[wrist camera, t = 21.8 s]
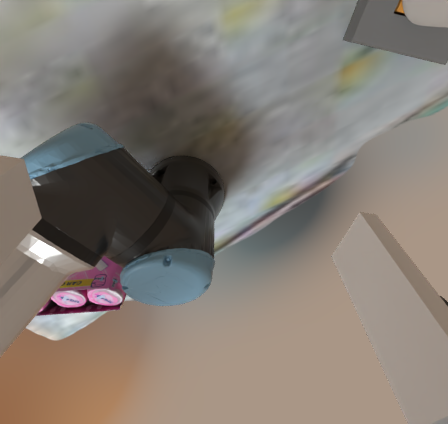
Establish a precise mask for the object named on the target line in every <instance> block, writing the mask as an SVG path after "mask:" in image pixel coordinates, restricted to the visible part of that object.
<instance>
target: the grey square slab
mask: <svg viewBox="0 0 448 424" xmlns="http://www.w3.org/2000/svg"><path fill="white" fill-rule="evenodd" d="M398 3H399V0H358V3H357V5H356V8H355V10H354V13H353V15H352V18H351V20H350V23H349V26H348V28H347V31H346V33H345V36H344V38H343V40H345V41H349V42H353V43H357V44H361V45H366V46H370V47H374V48H378V49H382V50H386V51H390V52H394V53H398V54H402V55H407V56H411V57H415V58H419V59H423V60H427V61H431V62H436V63H440V64H444V65H445V64H446V63H447V61H448V28H447V27H431V26H420V25H416V24H414V23H412V22H411V21H409V20H408V18H407V17H405V16H401V15H397V14H393V13H394V11H395V9H396V7H397V5H398Z"/></svg>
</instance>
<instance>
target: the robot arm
mask: <svg viewBox="0 0 448 424" xmlns="http://www.w3.org/2000/svg"><path fill="white" fill-rule="evenodd" d="M223 203H224V185H223V182H222V179H221V177H220V176H219V174H218V173H217V171H216V170H215V169H214V168H213V167H212V166H210V165H209V164H208V163H206V162H204V161H202V160H200V159H197V158H194V157H188V156H176V157H171V158H168V159H165V160H163V161H161V162H160V163H158V164H157V165H156V166H155V167H154V168H153V169H152V171H151V172H150V173H149V172H148V171H147V170H146V169H144V168H143V167H142V166H141V165H140V164H139V163H138V162H137V161H136V160H135V159H134V158H133V157H132V156H131V155H130V154H129V153H128V152H127V151H126V150H125V149H124V146H123V145H122V144H119V143H117V142H116V141H115V140H114V139H113V138H111V137H110V136H109V135H108V134H107V133H106V132H104V131H103V130H102V129H101V128H100V127H98V126H97V125H95V124H92V123H79V124H76V125H74V126H72V127H70V128H68V129H66V130H64V131H62V132H60V133H59V134H57V135H55V136H54V137H52V138H50V139H49V140H47V141H45V142H44V143H42V144H41V145H39V146H38V147H36V148H35V149H33V150H32V151H30V152H29V153H27V154H26V155H24V156H23V157H22V158H13V157H7V156H0V357H1V356H2V355H3V353H4V352H5V351H6V350H7V349H8V348H9V346H10V345H11V344H12V343H13V342H14V341H15V339H16V338H17V337H18V336H19V335H20V333H21V332H22V331H23V330H24V329H25V328H26V326H27V325H28V324H29V323H30V322H31V320H32V319H33V318H34V317H35V316H36V315H37V313H38V312H39V311H40V310H41V309H42V308H43V306H44V305H45V304H46V303H47V302H48V300H49V299H50V298H51V297H52V296H53V295H54V293H55V292H56V291H57V290H58V289H59V287H60V286H61V285H62V284H63V283H64V282H65V280H66V279H67V278H68V277H69V276H70V275H71V274H73V273H76V272H81V271H86V270H91V269H93V268H94V267H95V266H96V265H97V264H98V262H99V261H100V260H101V259H102V258H103V256H105V257H106V258H108V259H110V260H111V261H113V262H114V263H116V264H117V265H119V266H120V267H122V268H123V269H122V271H121V274H120V279H121V280H120V283H121V285H122V289H123V291H124V292H125V293H126V294H127V295H128V296H129V297H131V298H132V299H134V300H136V301H139V302H142V303H145V304H149V305H156V306H173V305H180V304H184V303H187V302H190V301H192V300H195V299H196V298H198V297H200V296H201V295H202V294H203V293H205V292H206V290H207V289H208V287H209V286H210V284H211V281H212V273H213V268H214V264H215V261H214V221H215V219H216V217H217V216H218V214H219V212H220V211H221V209H222V206H223ZM331 257H332V259H333V261H334V264H335V266H336V268H337V270H338V272H339V274H340V277H341V279H342V281H343V283H344V285H345V288H346V290H347V292H348V294H349V296H350V298H351V301H352V303H353V305H354V307H355V309H356V312H357V314H358V316H359V318H360V320H361V322H362V325H363V327H364V329H365V331H366V333H367V336H368V338H369V340H370V342H371V344H372V346H373V349H374V351H375V353H376V355H377V357H378V360H379V362H380V364H381V366H382V368H383V371H384V373H385V375H386V377H387V379H388V381H389V384H390V386H391V388H392V390H393V392H394V395H395V397H396V399H397V401H398V403H399V405H400V407H401V410H402V412H403V414H404V416H405V419H406V420H407V423H408V424H448V302H447V301H446V300H445V299H444V298H442V297H441V296H439V295H438V293H437V292H436V291H435V289H434V288H433V287H432V286H431V284H430V283H429V282H428V281H427V279H426V278H425V277H424V275H423V274H422V273H421V271H420V270H419V269H418V268H417V266H416V265H415V264H414V263H413V261H412V260H411V259H410V257H409V256H408V255H407V254H406V252H405V251H404V250H403V248H402V247H401V246H400V244H399V243H398V242H397V241H396V239H395V238H394V237H393V235H392V234H391V233H390V232H389V230H388V229H387V228H386V226H385V225H384V224H383V223H382V221H381V220H380V219H379V217H378V216H377V215H375V214H369V213H363V212H360V213H359V214H358V216H357V217H356V219H355V220H354V222H353V223H352V225H351V227H350V228H349V230H348V231H347V233H346V234H345V236H344V237H343V239H342V240H341V242H340V244H339V245H338V247H337V248H336V250H335V251H334V253H333V254H332V256H331Z"/></svg>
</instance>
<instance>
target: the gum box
mask: <svg viewBox="0 0 448 424" xmlns="http://www.w3.org/2000/svg"><path fill="white" fill-rule="evenodd" d="M122 269H123V268H122V267H120V266H119V265H117V264H116V263H114V262H113V261H111V260H110V259H108V258H106V257H105V256H103V258H102V259H101V260H100V261H99V262H98V264H97V265H96V266H95V267H94V268H93V269H91V270H86V271H81V272H76V273H73V274H71V275H70V276H69V277H68V278H67V279H66V280H65V282H64V283H63V284H62V285H61V286H60V287H59V289H58V290H57V291H56V292H55V293H54V295H53V296H52V297H51V298H50V299H49V300H48V302H47V303H46V304H45V305H44V306H43V308H42V309H41V310H40V311H39V312H38V313H37V315H36V316H41V315H53V314H69V313H84V312H100V311H113V310H120V309H121V307H122V305H123V302H124V300H125V297H126V293H125V292H124V291H123V289H122V285H121V283H120V280H121V279H120V274H121V271H122Z"/></svg>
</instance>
